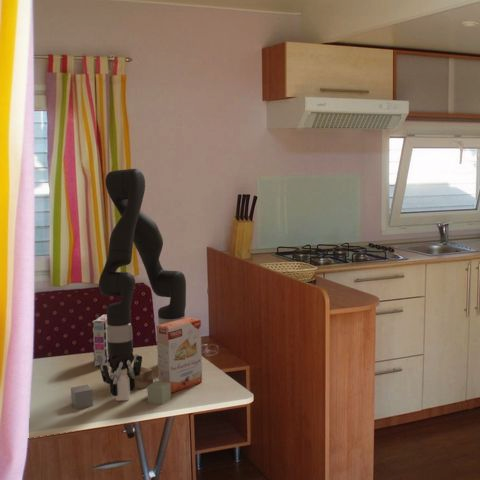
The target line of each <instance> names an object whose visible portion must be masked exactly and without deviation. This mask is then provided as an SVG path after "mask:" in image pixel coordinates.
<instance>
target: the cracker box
mask: <svg viewBox="0 0 480 480" xmlns="http://www.w3.org/2000/svg"><path fill="white" fill-rule="evenodd" d="M156 339H157V340H156V341H157V346H156V347H157V376H158V378H157V379H158V380H157V381H161V382H169V383H170V388H171V394H173V393H176V392H178V391H181V390H184V389H186V388H190V387H192V386H195V385H198V384H201V383H202V382H203V377H202V376H203V374H202V373H203V371H202V370H203V367H202V366H203V364H202V363H203V362H202V320H201V319H198V318H194V317H189V316H188V317H185V318H184V319H180V320H177V321H173V322H168V323H165V324H161V325H159V324H157V325H156Z"/></svg>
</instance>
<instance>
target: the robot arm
mask: <svg viewBox="0 0 480 480" xmlns="http://www.w3.org/2000/svg"><path fill="white" fill-rule="evenodd" d="M105 188H106V192H107V194H108V195H109V198H110V199H111V202H112V203H113V204H114V207H115V208H116V210H117V211H118V213H119V215H120V218H119V220H118V221H117V223H116V224H115V226H114V227H113V229H112V232H111V234H110V238H109V243H108V250H107V251H108V252H107V258H106V261H105V264H104V267H103V270H102V271H101V274H100V276H99V279H98V290H99V291H100V293H101V294H102V295H103V296H107V297H121V300H120V301H118V302H114V303H110V304H108V306H106V315H107V345H108V355H109V359H108V362H107V363H105V364H100V365H99V367H98V368H99V370H100V374H101V378H102V381H103V382H104V383H105V384H108V385H109V392H110V394H111V395H112V396H114V397H115V396H117V395H118V394H117V384H116V382H117V378H118V377H119V375H120V371H121V370H123V369H126V368H127V377H128V378H130V392H134V391H135V388H136V387H135V377H136V376H137V375H140V371H141V367H142V362H143V356H142V355H140V354H135V355H134V338H133V336H134V335H133V326H132V316H131V315H132V313H131V312H132V311H131V308H132V301H133V296H134V293H135V288H136V279H135V277H134V275H133V274H132V273H131V272H127V271H119V272H117V270H118V269H119V268H121V267H124V266H129V265H130V264H131V262H132V258H133V247H134V246H135V249H136V250H137V252H138V255H139V257H140V260H141V262H142V264H143V266H144V269H145V272H146V274H147V278H148V281H149V284H150V287H151V290H152V292H153V293H154V294H155V296H157V297H160V298H170V299H169V304H167V305H164V306H161V307H159V308H158V309H157V318H158V321H157V322H158V325H161V324H165V323H168V322H173V321H177V320H180V319H184V318H186V317H185V314H186V313H185V312H186V311H185V310H186V306H187V299H186V298H187V281H186V277H185V274H184V273H183V272H182V271H178V270H165V269H164V268H163V266H162V265H161V262H160V256H161V253H162V249H163V245H164V240H163V237H162V234H161V231H160V229H159V227H158V225H157V222H155V220H153V219H152V218H151V216H149V215H148V214H146V213H145V212H144V211H143V210H141V208H142V204H143V199H144V196H145V189H146V179H145V174H143V172H142V171H141V170H140V169H139V168H127V169H126V168H125V169H116V170H111V171H109V172H108V173H107V174H106V177H105ZM132 363H133V364H132Z"/></svg>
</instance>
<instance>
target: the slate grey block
mask: <svg viewBox="0 0 480 480" xmlns="http://www.w3.org/2000/svg"><path fill="white" fill-rule="evenodd" d="M70 397H71V405H72V406H73V408H75V410H78V409H83V408H88V407H92V406H94V401H93V389H92V388H91V387H90V386H89V385H88V384H84V385H80V386H79V385H78V386H73V387H70Z"/></svg>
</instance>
